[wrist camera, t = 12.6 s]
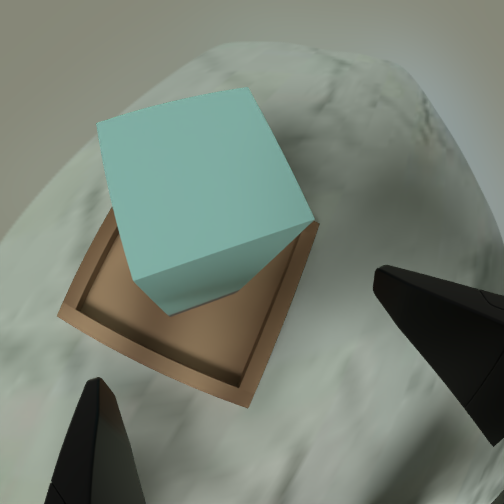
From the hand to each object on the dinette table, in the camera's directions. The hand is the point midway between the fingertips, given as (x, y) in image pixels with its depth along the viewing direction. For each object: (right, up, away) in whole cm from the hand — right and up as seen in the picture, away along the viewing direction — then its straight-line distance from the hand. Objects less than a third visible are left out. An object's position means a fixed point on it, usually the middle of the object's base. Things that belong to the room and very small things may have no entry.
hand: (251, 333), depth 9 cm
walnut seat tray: (-4, +1, +12) cm, 12 cm away
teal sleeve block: (-4, +1, +11) cm, 12 cm away
